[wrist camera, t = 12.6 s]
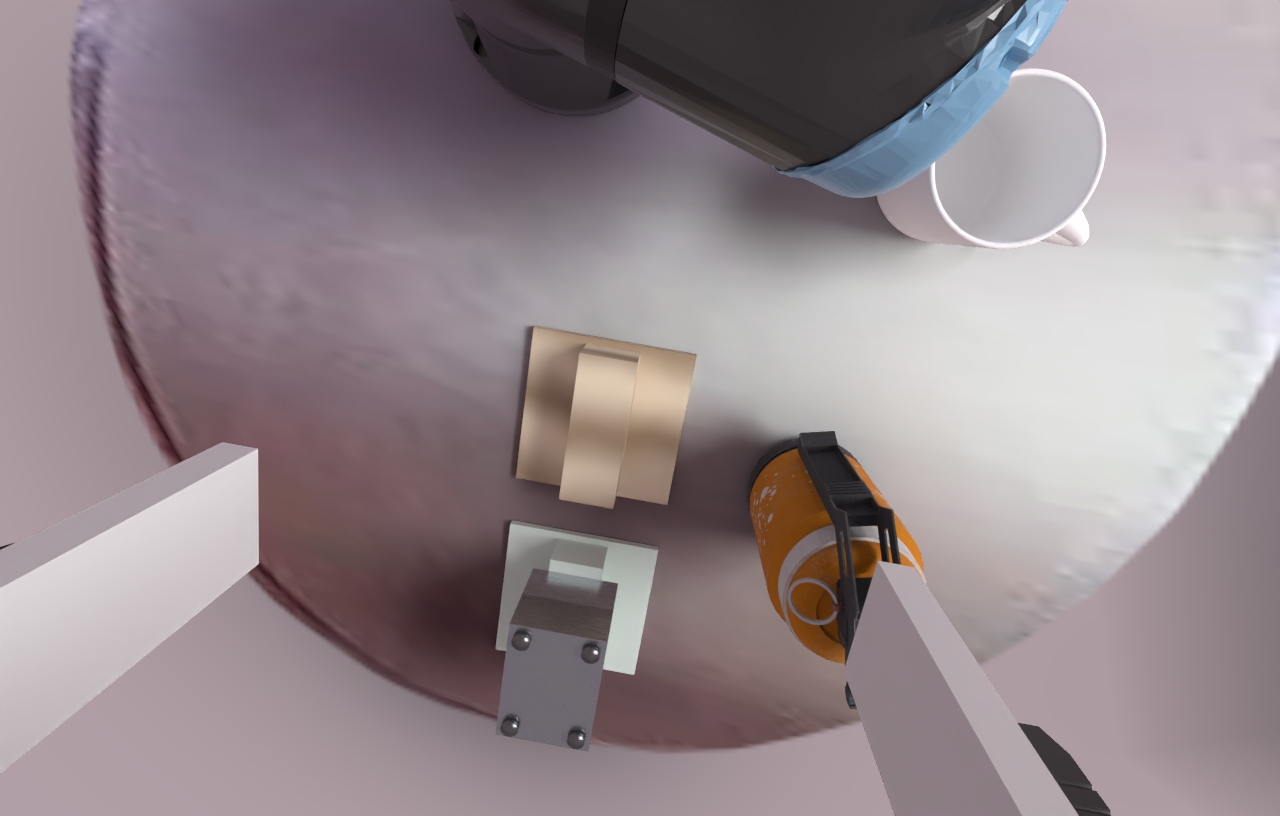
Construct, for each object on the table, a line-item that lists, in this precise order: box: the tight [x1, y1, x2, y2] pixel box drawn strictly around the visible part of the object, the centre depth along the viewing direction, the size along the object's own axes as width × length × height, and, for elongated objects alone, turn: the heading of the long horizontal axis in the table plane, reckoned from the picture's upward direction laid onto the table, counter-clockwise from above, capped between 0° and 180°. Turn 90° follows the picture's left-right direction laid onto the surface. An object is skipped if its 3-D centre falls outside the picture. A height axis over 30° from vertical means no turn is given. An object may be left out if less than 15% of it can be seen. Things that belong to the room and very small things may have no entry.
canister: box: [748, 431, 928, 709], centre depth 40 cm, size 9×11×20 cm
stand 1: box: [516, 326, 696, 509], centre depth 47 cm, size 12×12×4 cm
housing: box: [496, 568, 618, 751], centre depth 46 cm, size 9×6×7 cm
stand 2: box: [496, 520, 659, 675], centre depth 52 cm, size 12×12×4 cm
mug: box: [876, 68, 1106, 249], centre depth 38 cm, size 9×12×11 cm
